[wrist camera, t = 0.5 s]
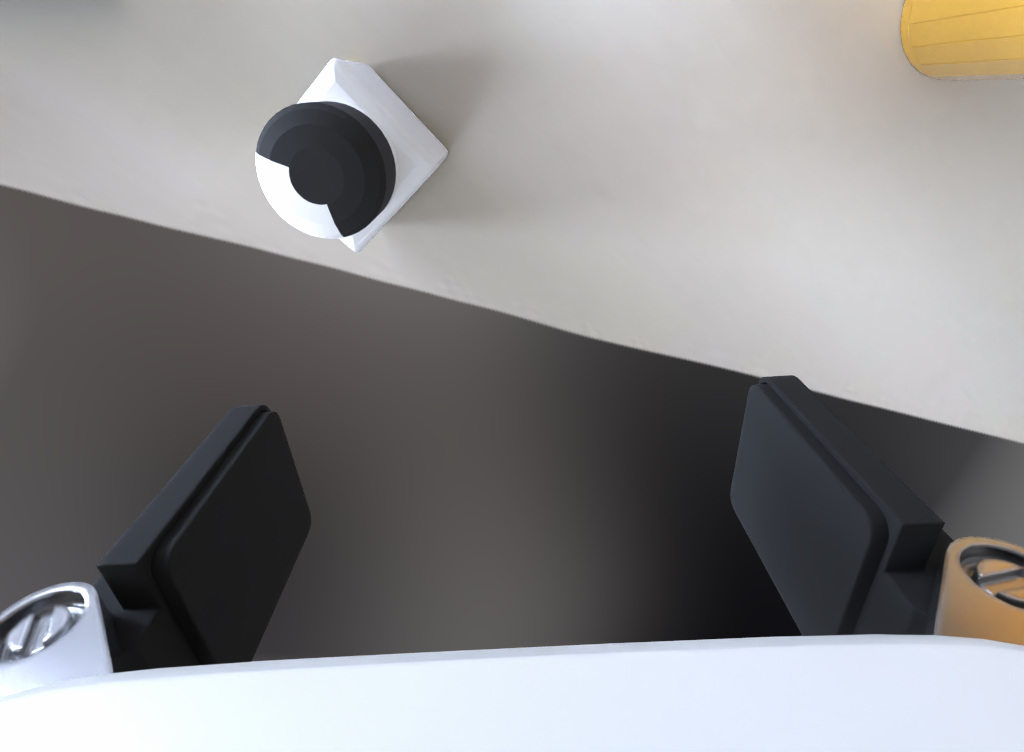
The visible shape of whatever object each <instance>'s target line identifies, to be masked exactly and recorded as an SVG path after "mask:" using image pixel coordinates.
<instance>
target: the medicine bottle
mask: <svg viewBox="0 0 1024 752" xmlns="http://www.w3.org/2000/svg"><path fill="white" fill-rule="evenodd" d="M447 156H448V151H447V149H446V148H445V147H444V146H443V145H442V143H441V142H440V141H439V140H438V139H437V138H436V137H435V136H434V135H433V134H432V133H431V132H430V131H429V129H428V128H427V127H426V126H425V125H424V124H423V123H422V122H421V121H420V120H419V119H418V118H417V117H416V116H415V114H414V113H413V112H412V111H411V110H410V109H409V108H408V107H407V106H406V105H405V104H404V103H403V102H402V100H401V99H400V98H399V97H398V96H397V95H396V94H395V93H394V92H393V91H392V90H391V89H390V88H389V86H388V85H387V84H386V83H385V82H384V81H383V80H382V79H381V78H380V77H379V76H378V75H377V74H376V72H375V71H374V70H373V69H372V68H371V67H370V66H369V65H367V64H363V63H358V62H352V61H347V60H342V59H334V58H333V59H332V60H330V62H329V63H328V64H327V65H326V67H325V68H324V69H323V71H322V72H321V73H320V75H319V76H318V77H317V78H316V80H315V81H314V82H313V84H312V85H311V86H310V88H309V89H308V90H307V91H306V93H305V94H304V95H303V97H302V98H301V99H300V100H299V102H298V103H297V104H294V105H291V106H289V107H286V108H284V109H282V110H281V111H279V112H278V113H276V114H275V115H274V116H273V117H272V118H271V119H270V120H269V121H268V123H267V124H266V125H265V127H264V129H263V131H262V133H261V134H260V137H259V140H258V144H257V149H256V169H257V174H258V179H259V182H260V185H261V187H262V190H263V192H264V194H265V196H266V198H267V200H268V201H269V202H270V204H271V205H272V207H273V208H274V209H275V210H276V212H277V213H278V214H279V215H280V216H281V217H282V218H283V219H284V220H285V221H287V222H288V223H289V224H291V225H292V226H293V227H295V228H297V229H299V230H300V231H302V232H305V233H307V234H309V235H312V236H316V237H320V238H327V239H336V238H339V239H340V240H341V241H342V242H344V243H345V244H346V245H347V246H348V247H349V248H350V249H351V250H353V251H354V252H359V251H361V250H362V249H363V248H364V247H365V246H366V245H367V244H368V243H369V242H370V240H371V239H372V238H373V237H374V236H375V235H376V234H377V233H378V232H379V231H380V230H381V229H382V227H383V226H384V225H385V224H386V223H387V222H388V221H389V220H390V219H391V218H392V217H393V216H394V215H395V213H396V212H397V211H398V210H399V209H400V208H401V207H402V206H403V205H404V204H405V203H406V202H407V201H408V199H409V198H410V197H411V196H412V195H413V194H414V193H415V192H416V191H417V190H418V189H419V188H420V186H421V185H422V184H423V183H424V182H425V181H426V180H427V179H428V178H429V177H430V176H431V175H432V174H433V172H434V171H435V170H436V169H437V168H438V167H439V166H440V165H441V163H442V162H443V161H444V160H445V159H446V158H447Z"/></svg>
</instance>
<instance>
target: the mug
mask: <svg viewBox="0 0 1024 752" xmlns="http://www.w3.org/2000/svg"><path fill="white" fill-rule="evenodd" d="M901 40H902V45H903V49H904V52H905V54H906V56H907V58H908V60H909V61H910V63H911V64H912V65H913V66H914V68H915V69H916V70H918V71H919V72H920V73H922V74H923V75H926V76H928V77H930V78H934V79H939V80H998V79H1024V0H905V3H904V7H903V11H902V17H901Z"/></svg>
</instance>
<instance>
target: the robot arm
mask: <svg viewBox="0 0 1024 752" xmlns="http://www.w3.org/2000/svg"><path fill="white" fill-rule="evenodd" d="M731 502H732V506H733V508H734V511H735V512H736V514H737V516H738V518H739V520H740V521H741V523H742V525H743V527H744V529H745V531H746V533H747V534H748V536H749V538H750V540H751V542H752V544H753V545H754V547H755V549H756V551H757V553H758V555H759V556H760V558H761V560H762V562H763V564H764V566H765V567H766V569H767V571H768V573H769V575H770V576H771V578H772V580H773V582H774V584H775V586H776V588H777V589H778V591H779V593H780V595H781V597H782V598H783V600H784V602H785V604H786V606H787V608H788V610H789V611H790V613H791V615H792V617H793V619H794V621H795V622H796V624H797V626H798V628H799V630H800V632H801V633H802V635H803V636H794V637H793V636H789V637H758V638H734V639H710V640H686V641H663V642H642V643H641V642H639V643H615V644H593V645H572V646H550V647H528V648H507V649H487V650H466V651H446V652H426V653H425V652H424V653H405V654H387V655H367V656H348V657H331V658H330V657H329V658H311V659H292V660H274V661H255V662H251V661H252V659H253V657H254V654H255V652H256V650H257V648H258V645H259V643H260V641H261V639H262V636H263V634H264V632H265V630H266V627H267V625H268V623H269V620H270V618H271V616H272V614H273V612H274V609H275V607H276V605H277V603H278V600H279V598H280V596H281V594H282V591H283V589H284V587H285V584H286V582H287V580H288V578H289V576H290V573H291V571H292V569H293V566H294V564H295V562H296V560H297V557H298V555H299V553H300V551H301V548H302V546H303V544H304V542H305V539H306V537H307V535H308V533H309V530H310V525H311V515H310V511H309V507H308V504H307V501H306V498H305V495H304V492H303V488H302V485H301V482H300V479H299V476H298V473H297V470H296V466H295V463H294V460H293V457H292V454H291V451H290V448H289V445H288V441H287V438H286V435H285V432H284V429H283V426H282V423H281V419H280V417H279V415H278V414H277V413H276V412H271V411H270V409H269V408H268V407H267V406H265V405H255V406H254V405H253V406H237V407H233V408H232V409H231V410H230V411H229V412H228V413H227V414H226V415H225V417H224V418H223V419H222V420H221V421H220V423H219V424H218V425H217V426H216V427H215V428H214V430H213V431H212V432H211V433H210V434H209V435H208V437H207V438H206V439H205V440H204V441H203V442H202V443H201V445H200V446H199V447H198V448H197V449H196V450H195V452H194V453H193V454H192V455H191V456H190V458H189V459H188V460H187V461H186V462H185V463H184V464H183V466H182V467H181V468H180V469H179V470H178V471H177V473H176V474H175V475H174V476H173V477H172V479H171V480H170V481H169V482H168V483H167V484H166V485H165V487H164V488H163V489H162V490H161V491H160V492H159V494H158V495H157V496H156V497H155V498H154V499H153V501H152V502H151V503H150V504H149V505H148V506H147V508H146V509H145V510H144V511H143V512H142V513H141V515H140V516H139V517H138V518H137V519H136V520H135V522H134V523H133V524H132V525H131V526H130V527H129V529H128V530H127V531H126V532H125V533H124V534H123V535H122V537H121V538H120V539H119V540H118V541H117V543H116V544H115V545H114V546H113V547H112V548H111V549H110V551H109V552H108V553H107V554H106V555H105V556H104V558H103V559H102V560H101V561H100V562H99V564H98V565H97V568H98V569H99V571H100V572H101V575H100V577H99V578H98V579H97V580H96V581H95V583H94V584H93V585H92V586H91V585H89V584H87V583H84V582H68V583H63V584H58V585H53V586H50V587H48V588H45V589H43V590H40V591H37V592H35V593H33V594H31V595H29V596H27V597H25V598H24V599H22V600H20V601H18V602H16V603H14V604H13V605H12V606H10V607H9V608H7V609H6V610H5V611H3V612H2V613H0V752H1024V548H1023V547H1020V546H1018V545H1015V544H1013V543H1009V542H1005V541H1002V540H997V539H993V538H984V537H976V536H975V537H966V538H960V539H958V540H956V541H953V540H952V539H951V538H950V537H949V536H948V535H947V534H946V533H945V532H944V531H943V530H942V528H943V525H944V524H945V523H944V522H943V521H942V520H941V519H940V518H939V517H938V516H937V515H936V514H935V513H934V512H933V511H932V510H931V509H930V508H929V507H928V506H927V505H926V504H925V503H924V502H923V501H922V500H921V499H920V498H919V497H918V496H917V495H916V494H915V493H914V492H913V491H912V490H911V489H910V488H909V487H908V486H907V485H906V484H905V483H904V482H903V481H902V480H901V479H900V478H899V477H898V476H897V475H896V474H895V473H894V472H893V471H891V469H890V468H889V467H887V465H886V464H885V463H884V462H883V461H881V460H880V459H879V458H878V457H877V456H876V455H875V454H874V453H873V452H872V451H871V450H870V449H869V448H868V447H867V446H866V445H865V444H864V443H863V442H862V441H861V440H860V439H859V438H858V437H857V436H856V435H855V434H854V433H853V432H852V431H851V430H850V429H849V428H848V427H847V426H846V425H845V424H844V423H843V422H842V421H841V420H840V419H839V418H838V417H837V416H836V415H835V414H834V413H833V412H832V411H831V410H830V409H829V408H828V407H827V406H826V405H825V404H824V403H823V402H822V401H820V399H818V397H816V396H815V395H814V394H813V393H812V392H811V391H810V390H809V389H808V388H807V387H806V386H805V385H804V384H803V383H802V382H801V381H800V380H799V379H798V378H797V377H795V376H773V377H763V378H761V379H760V381H759V382H758V385H753V386H751V388H750V390H749V393H748V399H747V404H746V410H745V415H744V421H743V426H742V432H741V438H740V443H739V448H738V454H737V460H736V465H735V470H734V476H733V481H732V487H731Z"/></svg>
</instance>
